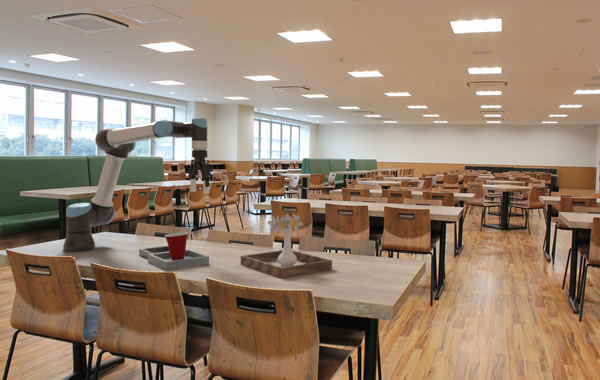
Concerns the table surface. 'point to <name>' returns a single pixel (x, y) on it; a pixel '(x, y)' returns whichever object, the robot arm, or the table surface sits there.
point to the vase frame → (313, 266)
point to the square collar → (153, 250)
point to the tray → (188, 261)
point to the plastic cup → (177, 245)
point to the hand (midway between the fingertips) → (199, 192)
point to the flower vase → (286, 237)
